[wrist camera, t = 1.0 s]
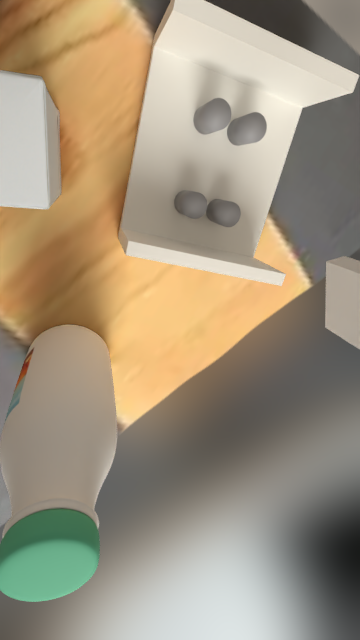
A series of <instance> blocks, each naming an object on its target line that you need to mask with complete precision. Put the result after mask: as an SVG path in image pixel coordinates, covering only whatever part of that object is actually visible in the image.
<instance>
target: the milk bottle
mask: <svg viewBox="0 0 360 640" xmlns="http://www.w3.org/2000/svg"><path fill="white" fill-rule="evenodd" d="M116 443H117V418H116V406H115V396H114V386H113V378H112V369H111V361H110V355H109V350H108V348H107V345H106V343H105V342H104V340H103V339H102V338H101V337H100V336H99V335H98V334H97V333H95V332H94V331H92V330H90V329H88V328H85V327H83V326H78V325H68V324H67V325H59V326H56V327H53V328H50V329H48V330H46V331H44V332H43V333H41V334H40V335H39V336H38V337H37V338H36V339H35V340H34V341H33V342H32V344H31V346H30V348H29V350H28V353H27V355H26V358H25V361H24V364H23V367H22V370H21V373H20V376H19V379H18V382H17V384H16V388H15V391H14V394H13V397H12V400H11V403H10V406H9V409H8V412H7V416H6V419H5V423H4V427H3V431H2V435H1V442H0V464H1V470H2V474H3V477H4V481H5V483H6V486H7V489H8V492H9V495H10V500H11V508H12V517H11V518H10V519H9V520H8V522H7V523H6V525H5V527H4V530H3V539H2V541H1V544H0V590H1V591H2V592H3V593H4V594H6V595H8V596H9V597H11V598H14V599H17V600H22V601H33V602H34V601H46V600H51V599H55V598H59V597H62V596H64V595H67V594H69V593H71V592H73V591H75V590H76V589H78V588H80V587H81V586H82V585H83V584H85V583H86V582H87V581H88V580H89V579H90V578H91V576H92V575H93V574H94V572H95V571H96V568H97V566H98V561H99V551H100V542H99V532H98V526H99V520H98V516H97V514H96V512H95V511H94V507H95V503H96V500H97V496H98V493H99V491H100V488H101V486H102V484H103V482H104V480H105V478H106V476H107V474H108V472H109V470H110V467H111V465H112V461H113V458H114V455H115V450H116Z"/></svg>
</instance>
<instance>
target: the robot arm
mask: <svg viewBox="0 0 360 640" xmlns="http://www.w3.org/2000/svg"><path fill="white" fill-rule="evenodd" d="M325 327H326V328H327V329H329V330H330V331H332V332H333V333H335V334H337V335H338V336H340V337H341V338H343V339H345V340H346V341H347V342H349V343H350V344H352V345H354V346H355V347H357V348H358V349H360V261H358V260H355V259H352V258H348V257H345V256H344V257H341V258H337V259H333V260H330V261H326V316H325Z"/></svg>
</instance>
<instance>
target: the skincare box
mask: <svg viewBox="0 0 360 640" xmlns="http://www.w3.org/2000/svg"><path fill="white" fill-rule="evenodd" d="M61 193H62V192H61V162H60V113H59V110H58V109H57V108H56V106H55V104H54V102H53V100H52V98H51V96H50V94H49V92H48V90H47V88H46V85H45V82H44V80H43V78H42V77H41V76H37V75H29V74H22V73H16V72H10V71H4V70H0V206H5V207H18V208H32V209H49V208H50V206H51V205H52V204H53V203H54V202H55V200H56V199H57V198H58V197H59V196H60V195H61Z"/></svg>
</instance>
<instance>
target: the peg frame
mask: <svg viewBox="0 0 360 640" xmlns="http://www.w3.org/2000/svg"><path fill="white" fill-rule="evenodd" d="M358 77H359V75H358V74H355V73H353V72H351V71H349V70H347V69H345V68H343V67H341V66H339V65H337V64H335V63H333V62H331V61H329V60H327V59H325V58H322V57H320V56H318V55H316V54H314V53H312V52H310V51H308V50H306V49H304V48H302V47H300V46H298V45H296V44H294V43H291V42H289V41H287V40H285V39H283V38H281V37H279V36H277V35H275V34H273V33H271V32H269V31H267V30H265V29H263V28H260V27H258V26H256V25H254V24H252V23H250V22H248V21H246V20H244V19H242V18H240V17H238V16H236V15H234V14H232V13H230V12H227V11H225V10H223V9H221V8H219V7H217V6H215V5H213V4H211V3H209V2H207V1H205V0H171V2H170V4H169V6H168V8H167V10H166V12H165V14H164V16H163V18H162V21H161V23H160V25H159V27H158V29H157V31H156V33H155V36H154V41H153V47H152V52H151V58H150V63H149V69H148V74H147V80H146V85H145V91H144V96H143V102H142V107H141V113H140V118H139V124H138V129H137V135H136V141H135V146H134V152H133V157H132V163H131V168H130V174H129V179H128V185H127V190H126V196H125V201H124V207H123V212H122V218H121V223H120V229H119V234H118V239H119V241H120V243H121V246H122V248H123V250H124V252H125V254H126V255H128V256H133V257H139V258H144V259H149V260H154V261H159V262H164V263H169V264H174V265H179V266H184V267H189V268H194V269H199V270H204V271H209V272H214V273H219V274H224V275H230V276H235V277H240V278H245V279H250V280H255V281H260V282H265V283H270V284H275V285H280V286H282V283H283V281H284V278H285V275H286V274H284V273H283V272H281V271H279V270H277V269H275V268H273V267H271V266H269V265H267V264H265V263H263V262H261V261H259V260H257V259H255V258H253V257H254V254H255V251H256V248H257V245H258V242H259V239H260V236H261V233H262V230H263V227H264V224H265V220H266V217H267V214H268V211H269V208H270V205H271V202H272V199H273V196H274V193H275V190H276V187H277V184H278V181H279V178H280V175H281V172H282V169H283V166H284V162H285V159H286V156H287V153H288V150H289V147H290V144H291V141H292V138H293V135H294V132H295V129H296V126H297V123H298V120H299V117H300V114H301V111H302V108H303V107H306V106H310V105H313V104H316V103H319V102H323V101H326V100H329V99H333V98H336V97H339V96H342V95H346V94H349V93H352V92H353V91H354V88H355V85H356V83H357V80H358Z"/></svg>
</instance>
